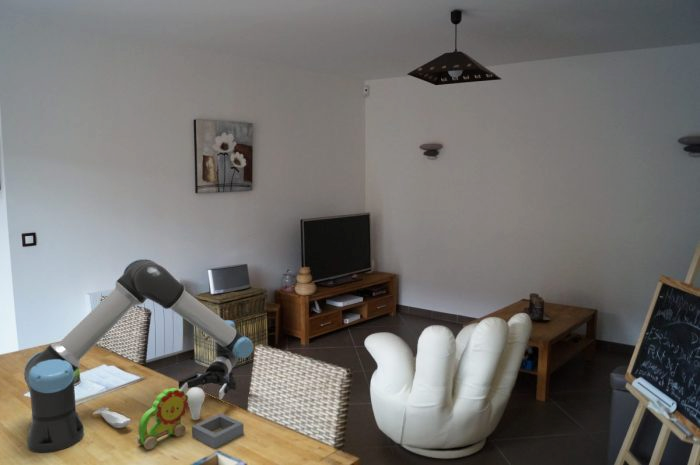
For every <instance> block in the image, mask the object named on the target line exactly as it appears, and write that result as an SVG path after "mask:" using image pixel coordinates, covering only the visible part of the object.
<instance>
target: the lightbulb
mask: <svg viewBox="0 0 700 465" xmlns="http://www.w3.org/2000/svg"><path fill="white" fill-rule="evenodd" d="M185 394H186V395H187V396H188V403H189V405H188V407H189V410H190V413H191V419H192V420H194V421H198V420H199V419H200V418H201V410H202V409H201V408H202V405H203V403H204V401H205V397H206V395H205V392H204V390H203V389H202V388H201V387H198V386H195V387H192V388H189V389H188V391H187V392H186V393H185Z"/></svg>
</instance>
